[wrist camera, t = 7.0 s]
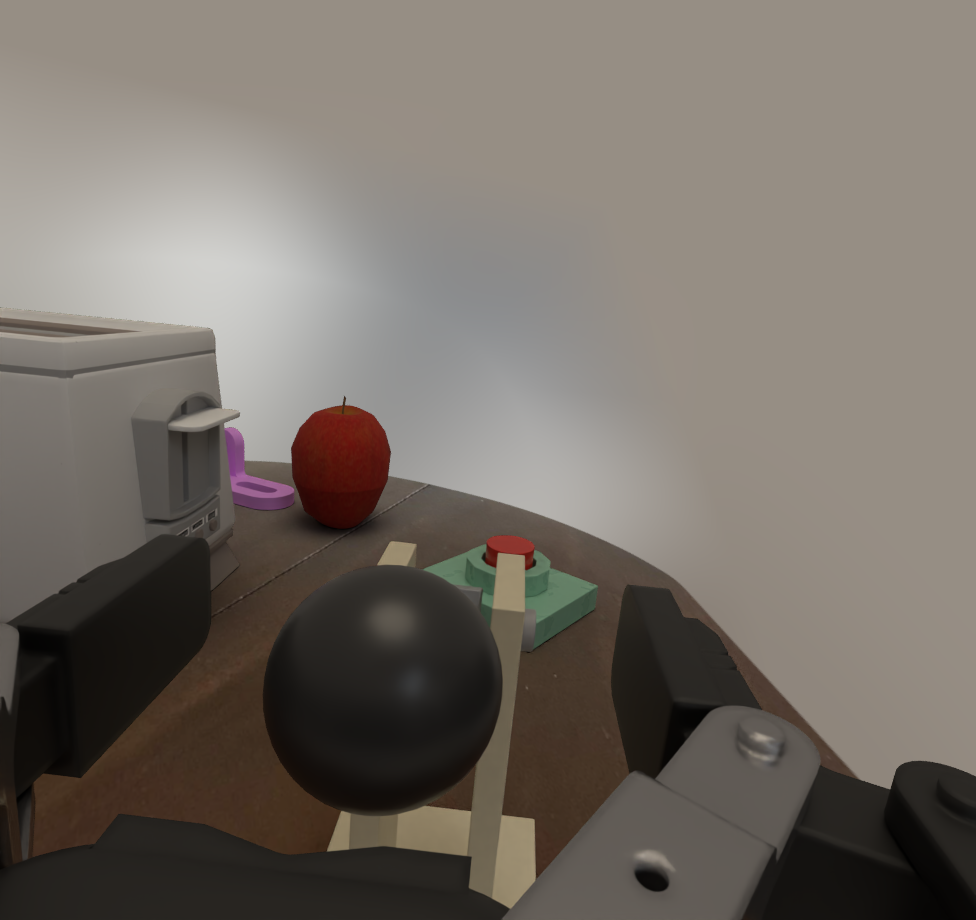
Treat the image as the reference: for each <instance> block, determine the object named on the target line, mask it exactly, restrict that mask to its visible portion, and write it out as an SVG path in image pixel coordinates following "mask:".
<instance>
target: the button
mask: <svg viewBox="0 0 976 920" xmlns="http://www.w3.org/2000/svg"><path fill="white" fill-rule="evenodd" d="M534 549H535V547H534V544H533V543H532V542H530V541H529V540H527V539H524V538H521V537H516V536H508V535H501V536H494V537H491V538H489V539H488V540H487V544H486V554H485V563H486V564H487V565H489V566H492V567H494V568H496V566H497V557H498V553H506V554H515V555H524V556H525V570H528V569H531V568H532V566H533V557H534Z"/></svg>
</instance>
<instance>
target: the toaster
mask: <svg viewBox="0 0 976 920" xmlns="http://www.w3.org/2000/svg"><path fill="white" fill-rule="evenodd" d="M239 416H240V412H239V411H237V410H230V409H222V405H221V398H220V389H219V381H218V372H217V364H216V355H215V336H214V333H213V330H212V329H210V328H202V327H192V326H183V325H173V324H163V323H152V322H143V321H132V320H122V319H112V318H102V317H92V316H81V315H72V314H61V313H51V312H41V311H31V310H21V309H11V308H1V307H0V623H4V624H6V623H7V622H9V621H11V620H12V619H14V618H15V617H17V616H19V615H20V614H22V613H24V612H25V611H27V610H28V609H30V608H32V607H33V606H35V605H37V604H38V603H40V602H41V601H43V600H45V599H46V598H48V597H49V596H51V595H53V594H58V593H59V590H61V589H62V588H64V587H66V586H67V585H69V584H71V583H72V582H75V583H76V582H77V579H79V578H80V577H82V576H84V575H85V574H87V573H88V572H90V571H92V570H93V569H95V568H96V567H98V566H101V565H104V564H106V563H109V562H112V561H115V560H118V559H121V558H124V557H126V556H127V555H129V554H130V553H132V552H133V551H135V550H137V549H138V548H140V547H141V546H143V545H144V544H146V543H148V542H149V541H151V540H152V539H154V538H155V537H157V536H159V535H161V534H169V535H178V536H188V537H197V538H204V539H205V540H206V541H207V542H208V545H209V548H210V569H211V590H213V589H214V588H215V587H216V586H217V585H219V584H220V583H221V582H222V581H223V580H224V579H225V578H226V577H227V576H228V575H229V574H231V573H232V572H233V571H234V570H235V569H236V568H237V567H238V566H239V565H240V564H239V563H238V561H237V560H236V558H235V556H234V554H233V553H232V551H231V549H230V548H229V546H228V544H227V543H226V540H228V539H229V538H230V537H231V536H233V529H232V527H233V525H234V522H235V512H234V503H233V495H232V487H231V479H230V471H229V462H228V454H227V446H226V438H225V430H224V423H225V422H228V421H230V420H233V419H235V418H238V417H239Z"/></svg>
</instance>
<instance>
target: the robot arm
mask: <svg viewBox="0 0 976 920" xmlns="http://www.w3.org/2000/svg"><path fill="white" fill-rule="evenodd" d="M210 624H211V569H210V548H209V545H208V542H207V541H206V540H205V539H204V538H197V537H188V536H178V535H169V534H161V535H159V536H157V537H155V538H154V539H152V540H151V541H149V542H148V543H146V544H144V545H143V546H141V547H140V548H138V549H137V550H135V551H133V552H132V553H130V554H129V555H127V556H126V557H124V558H121V559H118V560H115V561H112V562H109V563H106V564H104V565H101V566H98V567H96V568H95V569H93V570H92V571H90V572H88V573H87V574H85V575H84V576H82V577H80V578H79V579H77V582H76V583H75V582H72V583H71V584H69V585H67V586H66V587H64V588H62V589H61V590H59V593H58V594H53V595H51V596H49V597H48V598H46V599H45V600H43V601H41V602H40V603H38V604H37V605H35V606H33V607H32V608H30V609H28V610H27V611H25V612H24V613H22V614H20V615H19V616H17V617H15V618H14V619H12V620H11V621H9V622H7V623H6V624H4V623H0V920H976V776H974V775H971V774H969V773H967V772H964V771H962V770H959V769H956V768H953V767H950V766H947V765H943V764H939V763H934V762H927V761H911V762H907V763H904V764H902V765H900V766H899V767H898V768H897V769H896V772H895V776H894V779H893V782H892V786H891V789H886V788H883V787H880V786H877V785H874V784H871V783H868V782H865V781H862V780H858V779H855V778H852V777H849V776H846V775H843V774H840V773H837V772H834V771H832V770H829V769H827V768H825V767H822V766H820V755H819V752H818V750H817V748H816V747H815V745H814V743H813V742H812V741H811V740H810V739H809V738H808V737H807V736H806V735H805V734H804V733H803V732H802V731H801V730H799V729H798V728H797V727H795V726H794V725H792V724H791V723H789V722H787V721H786V720H784V719H782V718H780V717H778V716H776V715H773V714H771V713H768V712H766V711H762V709H761V707H760V706H759V704H758V702H757V700H756V699H755V697H754V695H753V694H752V692H751V690H750V689H749V687H748V685H747V683H746V682H745V680H744V678H743V677H742V675H741V673H740V672H739V671H737V666H736V665H735V663H734V661H733V660H732V658H731V656H728V651H727V649H726V648H725V646H724V644H723V643H722V641H721V639H720V637H719V636H718V635H717V634H716V633H715V632H714V631H712V630H711V629H710V628H709V627H707V626H706V625H705V624H703V623H702V622H701V621H700V620H698V619H694V618H685V617H683V615H682V613H681V611H680V609H679V607H678V605H677V603H676V601H675V599H674V597H673V595H672V593H671V592H670V590H669V589H664V588H655V587H646V586H636V585H627V586H626V588H625V591H624V594H623V599H622V605H621V612H620V618H619V624H618V631H617V637H616V644H615V650H614V656H613V663H612V676H611V687H612V697H613V702H614V707H615V711H616V716H617V720H618V724H619V729H620V733H621V738H622V742H623V747H624V751H625V755H626V760H627V764H628V769H629V773H630V774H629V775H628V776H627V777H626V778H625V779H624V781H623V782H622V783H621V784H620V785H619V786H618V787H617V789H616V790H615V791H614V792H613V793H612V794H611V795H610V796H609V798H608V799H607V800H606V801H605V802H604V803H603V804H602V806H601V807H600V808H599V809H598V810H597V811H596V812H595V814H594V815H593V816H592V817H591V818H590V819H589V820H588V821H587V823H586V824H585V825H584V826H583V827H582V828H581V829H580V831H579V832H578V833H577V834H576V835H575V836H574V837H573V839H572V840H571V841H570V842H569V843H568V844H567V845H566V846H565V848H564V849H563V850H562V851H561V852H560V853H559V854H558V856H557V857H556V858H555V859H554V860H553V861H552V862H551V864H550V865H549V866H548V867H547V868H546V869H545V870H544V871H543V873H542V874H541V875H540V876H539V877H538V878H537V879H536V881H535V882H534V883H533V884H532V885H531V886H530V887H529V889H528V890H527V891H526V892H525V893H524V894H523V895H522V896H521V898H520V899H519V900H518V901H517V902H516V903H515V904H514V906H513V907H512V908H511V909H510V908H508V907H507V906H505V905H503V904H502V903H500V902H498V901H496V900H494V899H492V898H490V897H488V896H486V895H484V894H482V893H480V892H477V891H475V890H472V889H470V888H469V881H470V870H471V859H472V857H471V856H462V855H454V854H446V853H438V852H429V851H421V850H413V849H405V848H396V847H388V846H379V847H368V848H358V849H348V850H338V851H327V852H317V853H307V854H297V855H287V854H281V853H277V852H274V851H272V850H269V849H267V848H264V847H262V846H259V845H256V844H254V843H251V842H249V841H246V840H244V839H241V838H239V837H236V836H233V835H231V834H228V833H226V832H223V831H221V830H218V829H216V828H213V827H210V826H208V825H205V824H199V823H191V822H183V821H174V820H166V819H158V818H150V817H141V816H133V815H125V814H118V816H117V817H116V818H115V819H114V821H113V822H112V823H111V824H110V826H109V827H108V828H107V829H106V831H105V832H104V833H103V834H102V836H101V837H100V838H99V839H98V841H97V842H96V843H95V844H90V845H83V846H77V847H72V848H67V849H61V850H58V851H54V852H50V853H46V854H43V855H39V856H36V857H33V858H32V856H33V838H34V820H35V793H34V783H33V782H34V781H35V780H36V779H38V778H39V777H40V776H41V775H42V774H43V773H44V774H52V775H61V776H69V777H77V778H81V777H82V776H83V775H84V774H85V773H86V772H87V771H88V770H89V769H90V767H91V766H92V765H93V764H94V763H95V762H96V761H97V760H98V759H99V758H100V757H101V756H102V755H103V754H104V752H105V751H106V750H107V749H108V748H109V747H110V746H111V745H112V744H113V743H114V742H115V741H116V740H117V739H118V737H119V736H120V735H121V734H122V733H123V732H124V731H125V730H126V729H127V728H128V727H129V726H130V725H131V724H132V722H133V721H134V720H135V719H136V718H137V717H138V716H139V715H140V714H141V713H142V712H143V711H144V710H145V709H146V708H147V706H148V705H149V704H150V703H151V702H152V701H153V700H154V699H155V698H156V697H157V696H158V695H159V694H160V693H161V691H162V690H163V689H164V688H165V687H166V686H167V685H168V684H169V683H170V682H171V681H172V680H173V679H174V678H175V676H176V675H177V674H178V673H179V672H180V671H181V670H182V669H183V668H184V667H185V666H186V665H187V664H188V663H189V661H190V660H191V659H192V658H193V657H194V656H195V655H196V654H197V653H198V652H199V651H200V649H201V648H202V646H203V645H204V643H205V641H206V638H207V636H208V633H209V629H210Z"/></svg>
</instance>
